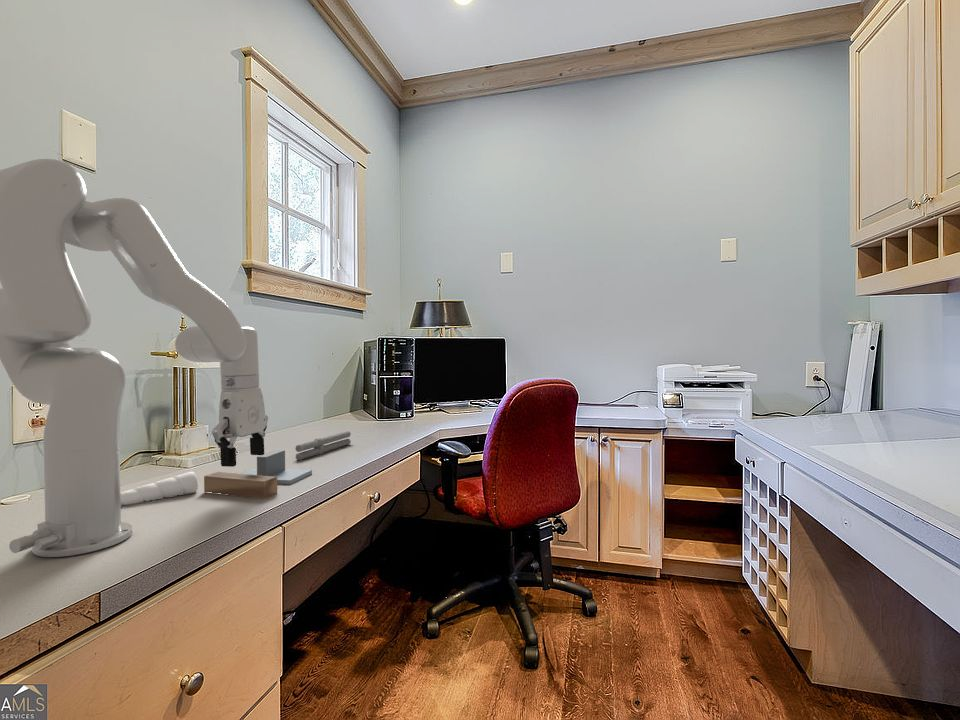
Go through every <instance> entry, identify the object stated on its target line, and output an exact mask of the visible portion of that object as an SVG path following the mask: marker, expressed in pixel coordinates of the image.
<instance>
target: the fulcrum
mask: <svg viewBox="0 0 960 720" xmlns="http://www.w3.org/2000/svg"><path fill="white" fill-rule="evenodd" d="M239 474H250V475H262V476H273V477H277V485H292V484H294V483H296V482H299V481H300V480H302V479H304V478H306V477H307V478H308V476H311V475H312V474H313V469H299V468H298V469H296V468H295V469H294V468H286V450H285V449H281V450H280V449H275V450H273V451H269V452H267V453H264V455H257V457H256V467H253V468H251V469H248V470H246V471H243V472H239Z"/></svg>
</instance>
